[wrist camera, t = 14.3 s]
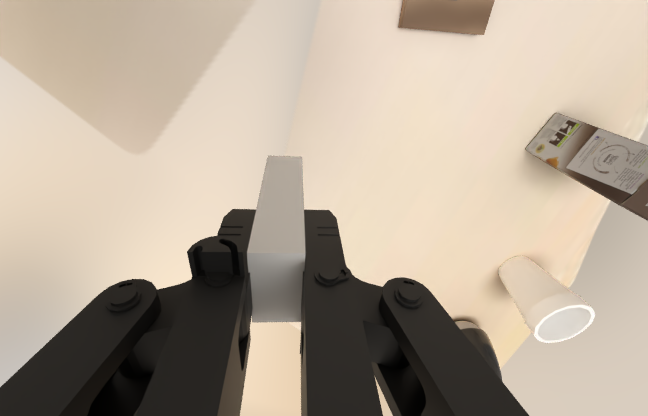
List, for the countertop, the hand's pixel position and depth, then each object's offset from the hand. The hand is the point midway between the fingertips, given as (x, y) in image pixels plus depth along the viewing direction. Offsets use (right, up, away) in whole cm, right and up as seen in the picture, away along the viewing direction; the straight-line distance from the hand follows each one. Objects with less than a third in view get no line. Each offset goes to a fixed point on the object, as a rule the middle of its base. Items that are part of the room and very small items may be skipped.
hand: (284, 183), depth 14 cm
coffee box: (+37, +9, +32) cm, 50 cm away
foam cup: (+39, -13, +45) cm, 61 cm away
